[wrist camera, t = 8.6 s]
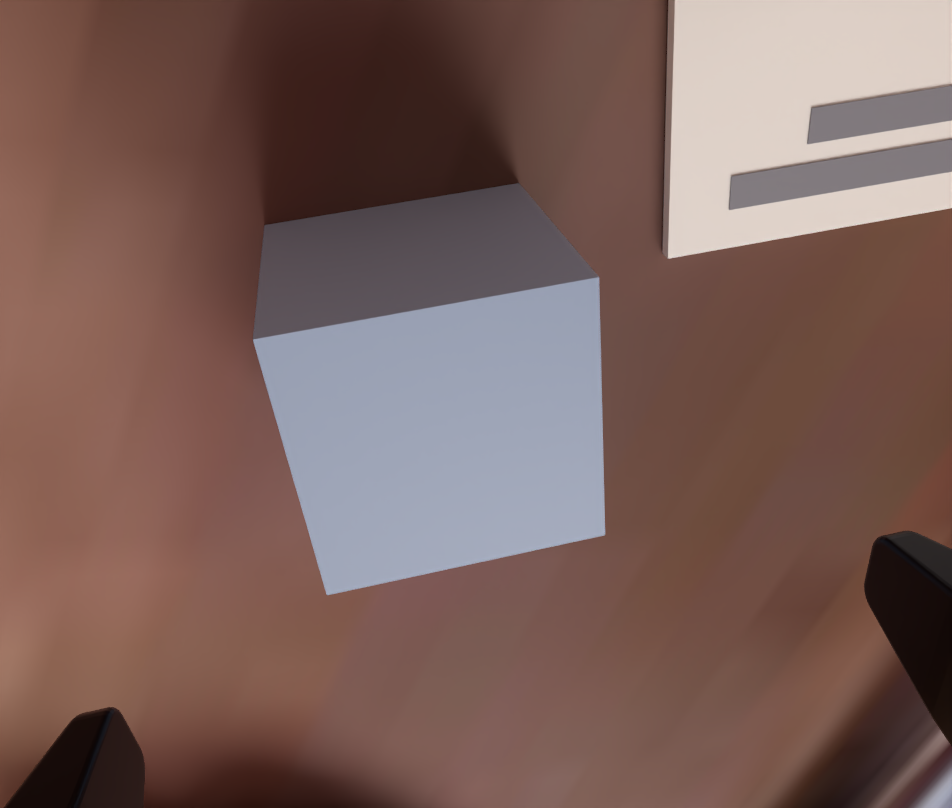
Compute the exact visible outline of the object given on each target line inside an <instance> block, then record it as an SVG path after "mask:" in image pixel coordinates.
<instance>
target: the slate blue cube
mask: <svg viewBox="0 0 952 808" xmlns="http://www.w3.org/2000/svg"><path fill="white" fill-rule="evenodd" d="M253 342H254V345H255V349H256V352H257V356H258V359H259V362H260V366H261V369H262V373H263V376H264V380H265V383H266V387H267V390H268V393H269V397H270V400H271V404H272V407H273V411H274V414H275V418H276V421H277V425H278V428H279V431H280V435H281V438H282V442H283V445H284V449H285V452H286V456H287V459H288V462H289V466H290V469H291V473H292V476H293V480H294V483H295V487H296V490H297V494H298V497H299V500H300V504H301V507H302V511H303V514H304V518H305V521H306V525H307V528H308V531H309V535H310V538H311V542H312V545H313V549H314V552H315V556H316V559H317V563H318V566H319V569H320V573H321V576H322V580H323V583H324V587H325V590H326V594H327V595H331V594H336V593H340V592H345V591H349V590H354V589H359V588H363V587H368V586H372V585H377V584H382V583H386V582H391V581H396V580H400V579H405V578H409V577H414V576H419V575H423V574H428V573H432V572H437V571H442V570H446V569H451V568H455V567H460V566H465V565H469V564H474V563H479V562H483V561H488V560H492V559H497V558H502V557H506V556H511V555H515V554H520V553H525V552H529V551H534V550H539V549H543V548H548V547H552V546H557V545H562V544H566V543H571V542H575V541H580V540H585V539H589V538H594V537H598V536H603V535H605V509H604V467H603V425H602V383H601V341H600V299H599V277H598V275H597V274H596V273H595V272H594V271H593V269H592V268H591V267H590V266H589V265H588V264H587V262H586V261H585V260H584V259H583V258H582V257H581V255H580V254H579V253H578V252H577V251H576V250H575V248H574V247H573V246H572V245H571V244H570V242H569V241H568V240H567V239H566V238H565V237H564V235H563V234H562V233H561V232H560V231H559V230H558V228H557V227H556V226H555V225H554V224H553V222H552V221H551V220H550V219H549V218H548V217H547V215H546V214H545V213H544V212H543V211H542V210H541V208H540V207H539V206H538V205H537V204H536V203H535V201H534V200H533V199H532V198H531V197H530V195H529V194H528V193H527V192H526V191H525V190H524V188H523V187H522V186H521V185H520V184H519V183H516V184H510V185H504V186H498V187H492V188H486V189H480V190H474V191H468V192H462V193H456V194H450V195H444V196H438V197H432V198H426V199H419V200H413V201H407V202H401V203H395V204H389V205H383V206H377V207H371V208H365V209H359V210H353V211H347V212H341V213H335V214H329V215H323V216H317V217H311V218H305V219H299V220H292V221H286V222H280V223H274V224H268V225H264V234H263V244H262V254H261V264H260V274H259V284H258V294H257V304H256V314H255V324H254V333H253Z"/></svg>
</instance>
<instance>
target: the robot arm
mask: <svg viewBox="0 0 952 808" xmlns="http://www.w3.org/2000/svg"><path fill="white" fill-rule="evenodd" d="M864 590H865V596H866V599H867V602H868V604H869V606H870V608H871V610H872V611H873V613H874V615H875V617H876V619H877V620H878V622H879V624H880V626H881V628H882V629H883V631H884V633H885V635H886V637H887V638H888V640H889V642H890V644H891V646H892V647H893V649H894V651H895V653H896V655H897V656H898V658H899V660H900V662H901V664H902V665H903V667H904V669H905V671H906V673H907V674H908V676H909V678H910V680H911V682H912V683H913V685H914V687H915V689H916V690H917V692H918V694H919V696H920V698H921V699H922V701H923V703H924V704H925V706H926V708H927V709H928V711H929V713H930V714H931V716H932V718H933V719H934V721H935V722H936V724H937V725H938V727H939V728H940V730H941V731H942V733H943V734H944V736H945V737H946V739H947V740H948V741H949V743H950V744H951V746H952V549H950V548H948V547H946V546H944V545H942V544H940V543H937V542H935V541H933V540H931V539H929V538H927V537H925V536H922V535H920V534H918V533H915V532H912V531H902V532H897V533H893V534H888V535H884V536H880V537H878V538H877V539H876V540H875V542H874V543H873V546H872V550H871V555H870V559H869V564H868V569H867V573H866V578H865V583H864ZM144 782H145V765H144V758H143V754H142V751H141V749H140V747H139V745H138V743H137V741H136V739H135V737H134V736H133V734H132V732H131V730H130V728H129V726H128V725H127V723H126V721H125V719H124V717H123V715H122V714H121V712H120V711H119V710H118V709H116V708H114V707H108V708H104V709H99V710H95V711H90V712H86V713H82V714H79V715H78V716H76V717H75V718H74V719H73V720H71V722H70V723H69V724H68V725H67V727H66V728H65V729H64V730H63V732H62V733H61V734H60V736H59V737H58V738H57V740H56V741H55V742H54V743H53V745H52V746H51V747H50V749H49V750H48V751H47V752H46V754H45V755H44V756H43V758H42V759H41V760H40V762H39V763H38V764H37V765H36V767H35V768H34V769H33V771H32V772H31V773H30V774H29V776H28V777H27V778H26V780H25V781H24V782H23V784H22V785H21V786H20V787H19V789H18V790H17V791H16V793H15V794H14V795H13V796H12V798H11V799H10V800H9V802H8V803H7V804H6V805H5V807H4V808H143V806H144Z"/></svg>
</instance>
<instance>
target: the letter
mask: <svg viewBox="0 0 952 808" xmlns="http://www.w3.org/2000/svg"><path fill="white" fill-rule="evenodd" d="M949 208H952V0H668V35H667V78H666V122H665V165H664V209H663V252H662V254H663V255H664V256H666V257H667V258H668V259H669V258H674V257H680V256H686V255H691V254H697V253H702V252H708V251H714V250H719V249H725V248H730V247H736V246H742V245H747V244H753V243H759V242H764V241H770V240H775V239H781V238H787V237H792V236H798V235H803V234H809V233H815V232H820V231H826V230H831V229H837V228H843V227H848V226H854V225H859V224H865V223H871V222H876V221H882V220H887V219H893V218H899V217H904V216H910V215H915V214H921V213H927V212H932V211H938V210H943V209H949Z"/></svg>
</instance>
